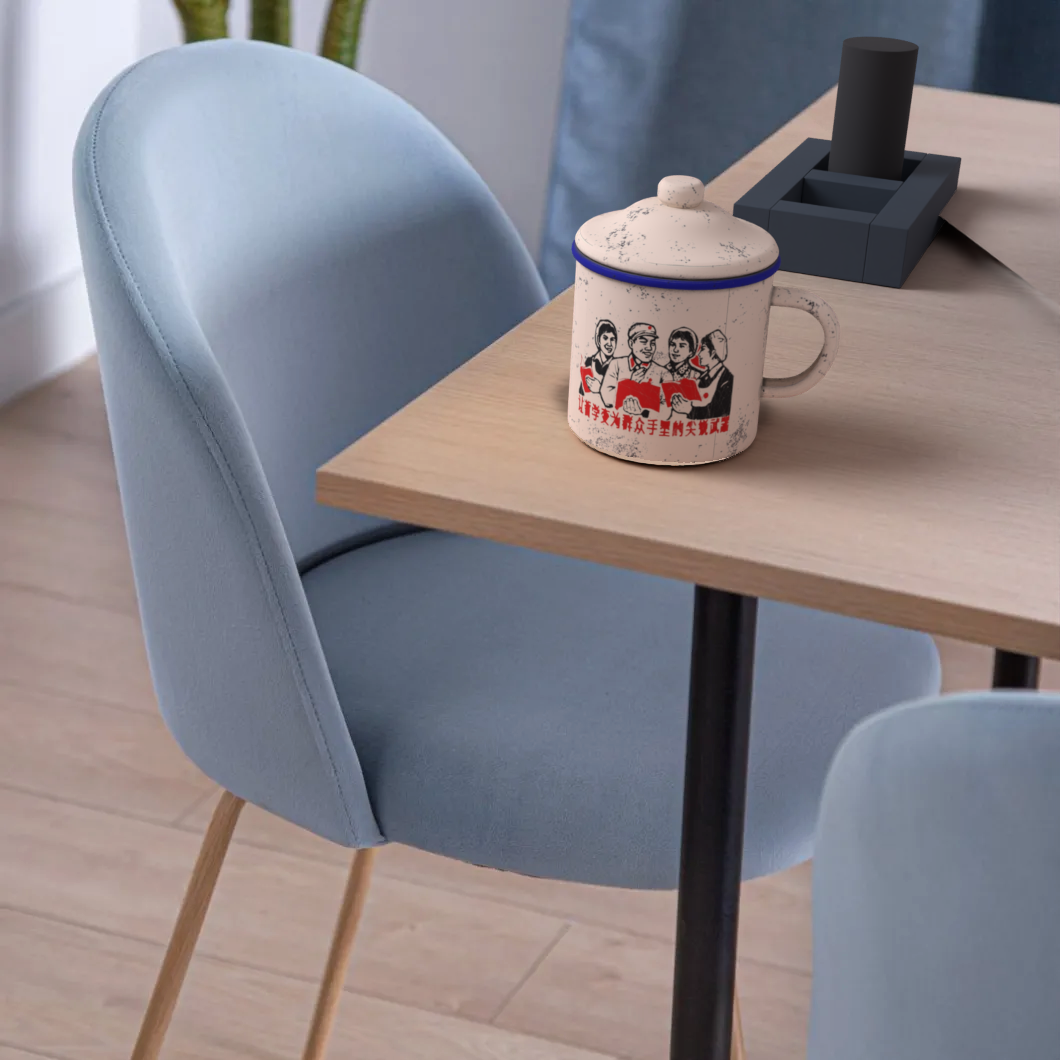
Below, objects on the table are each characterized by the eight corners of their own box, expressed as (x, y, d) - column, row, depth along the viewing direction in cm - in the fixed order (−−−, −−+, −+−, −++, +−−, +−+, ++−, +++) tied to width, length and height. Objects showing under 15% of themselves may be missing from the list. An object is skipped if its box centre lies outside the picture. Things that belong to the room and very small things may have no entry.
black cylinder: (910, 224, 112) (934, 48, 108) (853, 232, 110) (876, 53, 105) (863, 205, 116) (885, 34, 111) (808, 212, 114) (827, 39, 109)
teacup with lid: (543, 457, 77) (556, 197, 72) (581, 384, 85) (595, 144, 80) (819, 492, 75) (852, 226, 70) (831, 413, 83) (862, 170, 78)
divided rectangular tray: (953, 210, 116) (961, 157, 114) (900, 288, 100) (908, 229, 99) (802, 188, 119) (807, 137, 117) (727, 261, 104) (733, 203, 102)
